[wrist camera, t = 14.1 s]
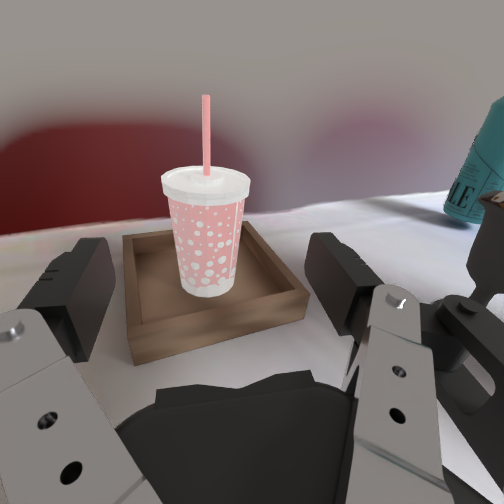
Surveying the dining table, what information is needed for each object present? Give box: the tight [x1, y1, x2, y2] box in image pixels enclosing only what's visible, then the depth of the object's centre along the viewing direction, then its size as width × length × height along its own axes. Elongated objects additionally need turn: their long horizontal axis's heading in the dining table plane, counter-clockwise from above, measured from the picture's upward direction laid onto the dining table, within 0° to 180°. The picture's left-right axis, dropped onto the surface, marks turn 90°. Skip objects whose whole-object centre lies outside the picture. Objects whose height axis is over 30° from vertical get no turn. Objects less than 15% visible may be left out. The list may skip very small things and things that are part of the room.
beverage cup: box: [161, 95, 250, 297], centre depth 20 cm, size 6×6×14 cm
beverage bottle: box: [443, 96, 504, 224], centre depth 35 cm, size 6×7×20 cm
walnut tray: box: [122, 221, 310, 366], centre depth 24 cm, size 13×13×3 cm
